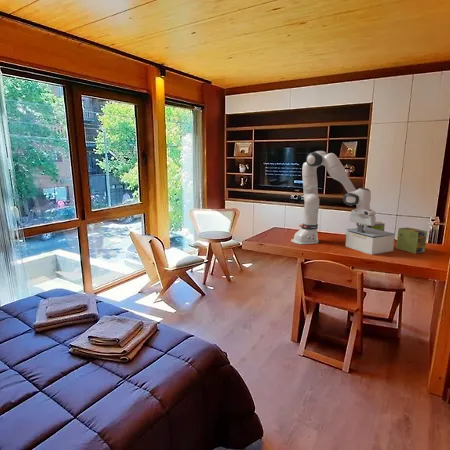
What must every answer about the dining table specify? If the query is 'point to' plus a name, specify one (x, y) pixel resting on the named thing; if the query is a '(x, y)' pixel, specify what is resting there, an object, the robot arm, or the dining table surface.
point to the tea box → (378, 226)
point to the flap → (370, 231)
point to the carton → (369, 243)
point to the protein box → (411, 240)
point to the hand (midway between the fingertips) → (361, 229)
